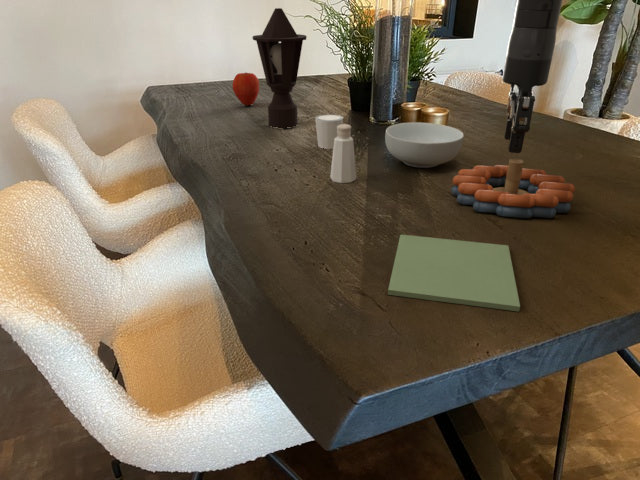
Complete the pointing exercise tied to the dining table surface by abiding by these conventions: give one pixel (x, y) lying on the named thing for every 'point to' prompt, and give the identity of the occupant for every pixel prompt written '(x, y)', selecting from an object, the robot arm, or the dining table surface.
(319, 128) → the white sugar pot
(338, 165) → the pepper shaker
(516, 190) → the ring stand
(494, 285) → the mat
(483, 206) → the bottom ring
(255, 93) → the apple
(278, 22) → the lantern
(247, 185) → the dining table surface
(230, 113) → the dining table surface
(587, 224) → the dining table surface
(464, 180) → the top ring
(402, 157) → the cereal bowl
